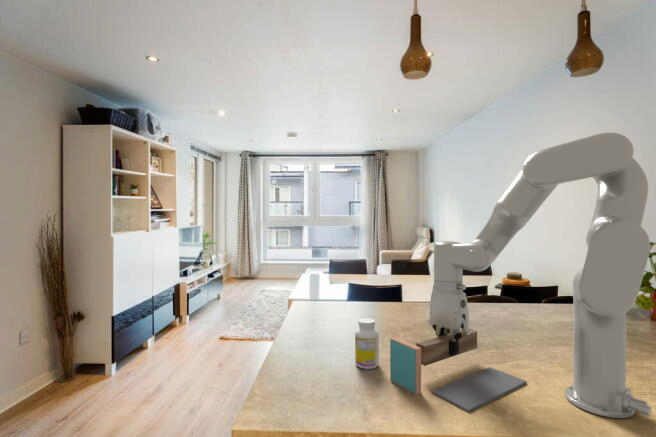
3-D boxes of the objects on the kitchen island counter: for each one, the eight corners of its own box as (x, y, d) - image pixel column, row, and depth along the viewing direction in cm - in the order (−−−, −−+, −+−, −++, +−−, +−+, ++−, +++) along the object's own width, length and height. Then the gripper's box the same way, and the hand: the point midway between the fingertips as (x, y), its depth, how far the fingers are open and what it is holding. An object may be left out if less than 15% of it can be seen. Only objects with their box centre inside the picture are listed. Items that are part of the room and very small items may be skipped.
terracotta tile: (421, 393, 85) (421, 347, 85) (415, 395, 84) (415, 349, 84) (394, 378, 93) (394, 337, 92) (389, 380, 92) (389, 338, 91)
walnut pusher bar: (477, 348, 102) (477, 331, 102) (424, 365, 90) (424, 346, 90) (468, 345, 105) (468, 328, 105) (416, 361, 93) (416, 342, 93)
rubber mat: (526, 383, 90) (526, 381, 90) (468, 412, 77) (468, 409, 77) (490, 369, 98) (490, 366, 98) (432, 393, 85) (432, 390, 85)
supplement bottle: (363, 358, 106) (363, 315, 105) (382, 364, 101) (382, 319, 101) (350, 365, 100) (350, 321, 100) (370, 372, 96) (370, 325, 96)
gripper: (483, 289, 92) (483, 359, 93) (433, 280, 106) (433, 340, 106) (465, 293, 88) (465, 366, 88) (416, 282, 102) (416, 346, 102)
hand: (448, 351), depth 97 cm, fingers closed on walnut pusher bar, 3 cm apart
